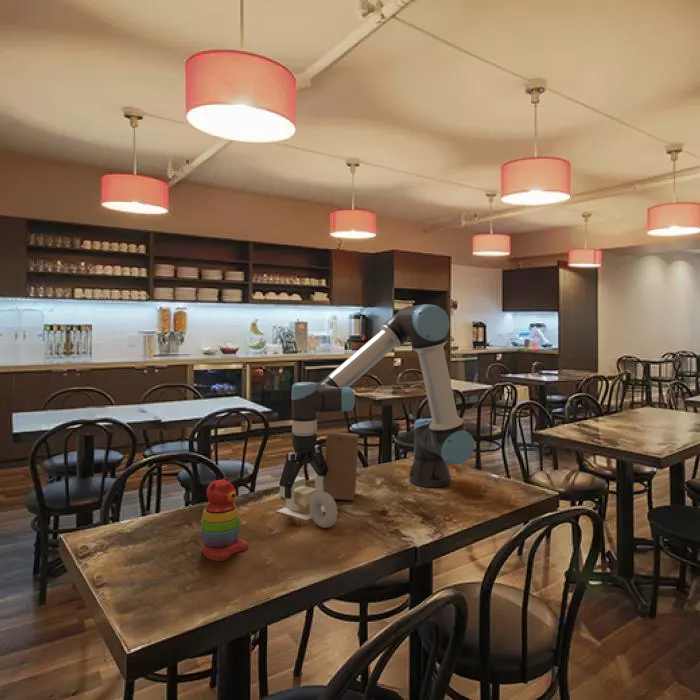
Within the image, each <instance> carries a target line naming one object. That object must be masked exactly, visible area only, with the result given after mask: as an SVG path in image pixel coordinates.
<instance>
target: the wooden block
mask: <svg viewBox="0 0 700 700" xmlns="http://www.w3.org/2000/svg"><path fill="white" fill-rule="evenodd" d="M359 436H360V435H359V433H347V432H346V433H345V432H332V431H331V432H329V433H328V434H327V436H326V438H325V453H324V454H325V455H324V458H325V461H326V464H327V467H328V472H326V473H327V475H326V476H324V485H323V492H327V493H328V494H330V495H331V496H332V497H333V499H334V500H339V501H340V500H344V501H354V499H355V496H356V488H357V475H358V474H357V471H358V455H359V454H358V453H359V440H360V439H359Z"/></svg>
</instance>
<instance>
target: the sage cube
mask: <svg viewBox="0 0 700 700" xmlns="http://www.w3.org/2000/svg"><path fill="white" fill-rule="evenodd" d="M280 480H281V478H280V479H279V481H280ZM306 482H307V481H306V477H302V476H298V475H297V477H296V479H295V481H294V484H293V486H292V487H294V489H295V488H298V487H301V486H306V484H307V483H306ZM289 483H290V482H289ZM280 496H282V497H285V488H284V487H282V486H279V497H280ZM282 497H281V498H282Z"/></svg>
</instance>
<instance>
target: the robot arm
mask: <svg viewBox="0 0 700 700" xmlns="http://www.w3.org/2000/svg"><path fill="white" fill-rule="evenodd" d="M450 325H451V324H450V319H449V316H448V314H447V313H446V311H445V310H444V309H443V308H441V307H440V306H438V305H435V304H431V303H430V304H428V303H425V304H416V305H409V306H408V305H407V306H405V307H404V308H402V309H400V310H399V311H397V312H396V313H395V314H394V315H393V316H391V318H389V319H388V320H387V321H385V323H383V324H382V325H381V326H380V330H379V332H377V333H376V334H374V335H373V337H372V338H371V339H369V340H368V341H367V342H365V344H363V345H362V346H361V347H359V349H357V350H356V351H355V352H354V353H353V354H352V355H351V356H349V357H348V358H347V359H346V360H344V362H341V364H340V365H339V366H338V367H336V369H334V370H333V371H331V373H329V374H328V375H327V376H325V378H323V379H322V380H321V381H319V382H313V381H301V382H300V381H299V382H295V383H293V384H292V385H291V397H290V398H291V433H293V434H292V435H291V446H292V447H293V448H294V451H293V453H292V452H287V453H286V457H285V458H286V459H285V463H284V467H283V471H282V473H281V477H280V479H281V480H280V479H279V484H278V485H279V487H280V486H282V487H284V488H285V498H284V499H285V507H286V508H288V509H292V510H294V509H295V505H294V487H292V486H293V484H294V481H295V479H296V477H297V476H298V475H299V474H300V471H301V469H302V468H303V467H304V466H305V465H307V464H309V465H310V466H311V468H312V469H313V470H314V472H315V473H316V475H314V488H315V489H318V492H320V491H322V492H323V485H324V476H326V475H327V473H326V472H328V467H327V464H326V461H325V455H324V453H323V447H322V445H319V444H318V435H317V432H318V424H317V423H318V419H317V415H318V414H322V413H325V414H326V413H341V412H342V413H344V412H350V411H352V410H353V409H354V407H355V402H356V397H355V391H354V389H352V387H351V386H352V385H353V384H354V383H355V382H357V380H358V379H360V378H361V377H363V375H364V374H366V373H367V372H368V371H369V370H370V369H372V368H373V367H374V366H375V365H376V364H378V362H380V360H382V359H383V358H384V357H385V356H386V355H388V353H390V352H391V351H392V350H393V349H394V348H400V347H401V346H403V344H405V343H408V342H409V341H410V346H411V349H412V350H413V351H415V352H416V353H417V355H418V360H419V365H420V369H421V373H422V379H423V383H424V387H425V391H426V392H425V393H426V397H427V402H428V406H429V411H430V416H431V417H430V418H419V419H416V420H414V427H413V462H412V465H411V468H410V471H409V475H408V477H409V478H408V481H409V482H410V483H411V484H412V485H415V486H418V487H423V488H424V487H425V488H441V487H442V488H443V487H447V486H449V485H451V484H452V474H451V472H450V469H449V465H448V464H451V465H461V464H463V463H465V462H467V461H468V460H469V459H470V458H471V456H472V454H473V452H474V449H475V440H474V437H473V436H472V434H470V433H469V432H468V431H466V427H465V421H464V419H463V418H462V417H460V416H458V411H457V406H456V403H455V397H454V392H453V388H452V381H451V378H450V372H449V368H448V363H447V360H446V353H445V349H444V347H445V346H446V344H447V343H448V340H447V335H448V331H449V330H450ZM289 482H290V483H289Z"/></svg>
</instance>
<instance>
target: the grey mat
mask: <svg viewBox="0 0 700 700" xmlns="http://www.w3.org/2000/svg"><path fill="white" fill-rule="evenodd" d="M321 509H322V512H323V514H324V513H326V512H325V507H324V506H323V504H322V505H321ZM278 512H279V514H282V513H283V515H285V514H286V515H287V516H289V517H292V516H293V518H296V519H299V520H303V521H306V520H307V521H309V520H311V519H312V517H311V514H310V512H308V513H306V514H303V513H300V512H296V511H292V510H290V509H288V508H286V506H285V507H282V508H281V509H280V508H279V509H277V510H276V513H278Z"/></svg>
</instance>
